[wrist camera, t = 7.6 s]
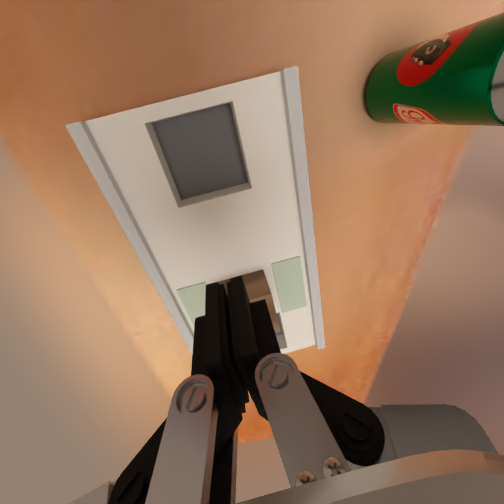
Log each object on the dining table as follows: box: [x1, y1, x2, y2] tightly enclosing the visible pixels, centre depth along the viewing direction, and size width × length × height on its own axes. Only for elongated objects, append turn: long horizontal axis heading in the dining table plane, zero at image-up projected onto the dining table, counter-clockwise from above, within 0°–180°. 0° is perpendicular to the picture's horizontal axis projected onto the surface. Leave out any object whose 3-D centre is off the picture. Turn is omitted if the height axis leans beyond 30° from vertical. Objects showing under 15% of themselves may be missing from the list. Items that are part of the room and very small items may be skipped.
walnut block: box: [218, 269, 280, 333], centre depth 24 cm, size 5×5×4 cm
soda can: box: [366, 13, 504, 126], centre depth 15 cm, size 5×5×12 cm
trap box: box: [65, 65, 325, 356], centre depth 25 cm, size 30×16×3 cm, turn 13°
